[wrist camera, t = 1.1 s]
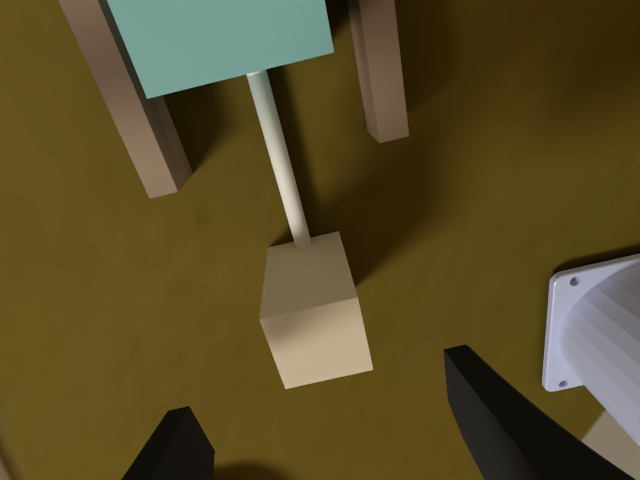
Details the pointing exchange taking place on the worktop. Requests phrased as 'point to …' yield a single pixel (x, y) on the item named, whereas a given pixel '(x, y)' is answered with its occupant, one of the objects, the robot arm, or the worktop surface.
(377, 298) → the worktop surface
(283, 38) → the multicoloured linked piece
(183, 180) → the u-shaped wooden frame
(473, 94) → the worktop surface
